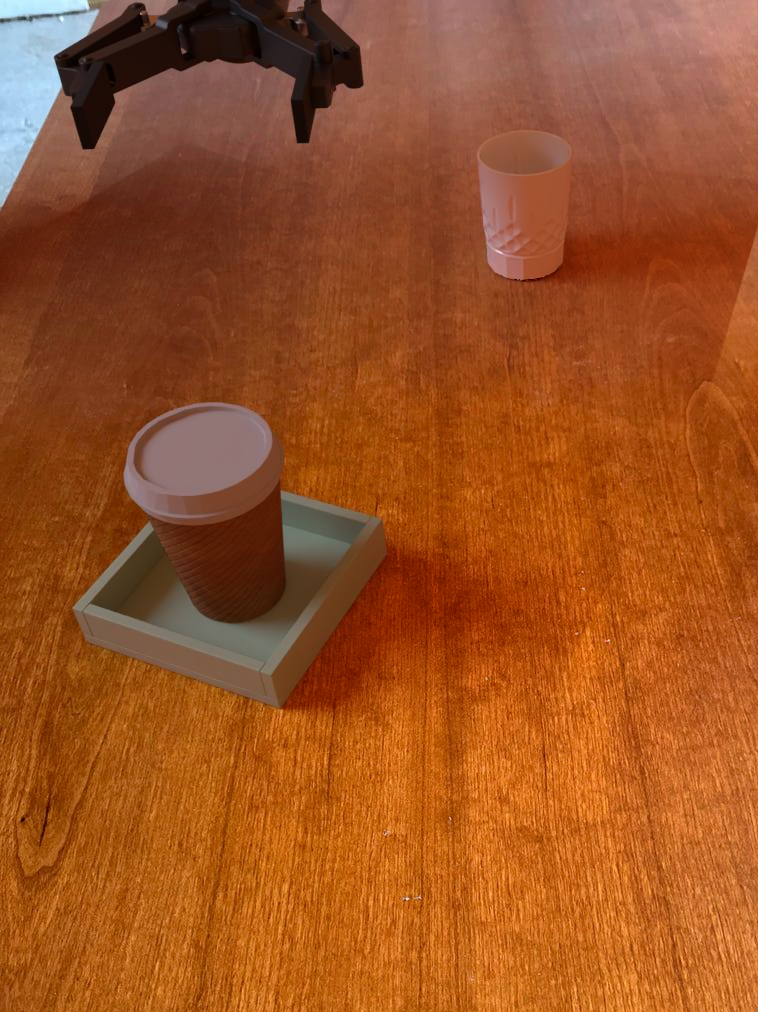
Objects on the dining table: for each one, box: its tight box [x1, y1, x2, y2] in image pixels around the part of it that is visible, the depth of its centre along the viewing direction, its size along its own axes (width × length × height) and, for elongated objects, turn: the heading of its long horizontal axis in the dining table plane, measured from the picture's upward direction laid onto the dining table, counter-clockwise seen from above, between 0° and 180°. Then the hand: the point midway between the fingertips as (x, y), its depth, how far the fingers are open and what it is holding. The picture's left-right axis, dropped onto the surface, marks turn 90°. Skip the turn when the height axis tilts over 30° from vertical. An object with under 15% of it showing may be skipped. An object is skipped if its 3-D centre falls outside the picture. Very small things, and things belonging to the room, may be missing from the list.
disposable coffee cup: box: [123, 401, 286, 623], centre depth 74 cm, size 10×10×12 cm
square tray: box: [72, 489, 388, 709], centre depth 78 cm, size 15×15×3 cm
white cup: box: [476, 129, 573, 281], centre depth 101 cm, size 8×8×10 cm
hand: (190, 125), depth 73 cm, fingers open, 13 cm apart
